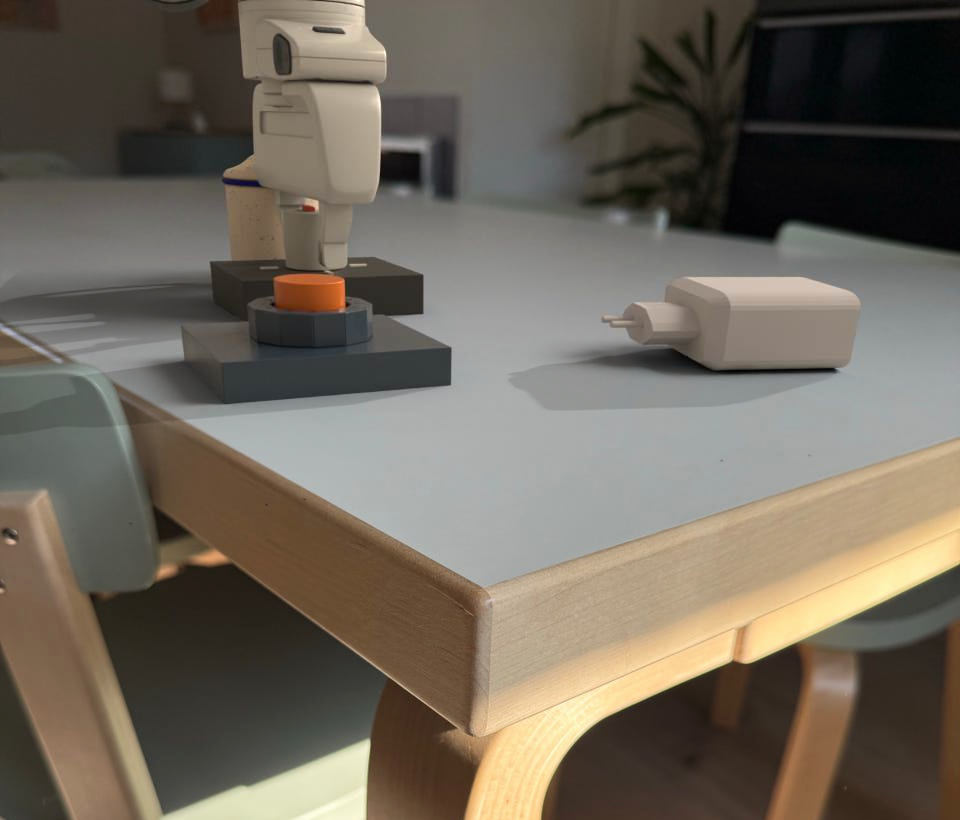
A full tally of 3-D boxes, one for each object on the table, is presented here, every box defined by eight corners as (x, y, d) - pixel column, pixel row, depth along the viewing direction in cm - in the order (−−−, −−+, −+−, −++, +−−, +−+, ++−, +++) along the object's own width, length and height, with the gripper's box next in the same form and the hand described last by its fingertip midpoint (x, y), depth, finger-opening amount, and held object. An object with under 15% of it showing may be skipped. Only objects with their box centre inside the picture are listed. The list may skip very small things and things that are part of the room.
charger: (582, 346, 68) (781, 343, 71) (626, 377, 60) (848, 372, 63) (587, 273, 66) (793, 273, 69) (633, 296, 58) (864, 295, 61)
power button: (286, 318, 54) (284, 285, 54) (267, 306, 58) (265, 274, 57) (355, 314, 56) (354, 282, 55) (333, 303, 59) (331, 272, 58)
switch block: (225, 405, 52) (217, 326, 50) (184, 361, 60) (176, 293, 58) (451, 386, 57) (452, 314, 55) (383, 348, 65) (382, 285, 63)
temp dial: (349, 270, 76) (347, 209, 74) (292, 271, 75) (289, 209, 73) (334, 262, 80) (332, 205, 78) (280, 263, 78) (277, 204, 76)
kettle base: (246, 324, 72) (242, 278, 70) (213, 300, 80) (209, 259, 79) (423, 314, 77) (423, 272, 76) (375, 293, 86) (374, 254, 84)
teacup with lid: (339, 291, 86) (334, 142, 81) (233, 292, 84) (220, 139, 78) (322, 272, 96) (316, 138, 91) (227, 272, 94) (215, 136, 89)
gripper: (227, 57, 77) (241, 245, 84) (302, 45, 61) (313, 279, 68) (304, 61, 80) (313, 243, 86) (396, 50, 64) (398, 276, 70)
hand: (314, 259), depth 77 cm, fingers open, 8 cm apart
